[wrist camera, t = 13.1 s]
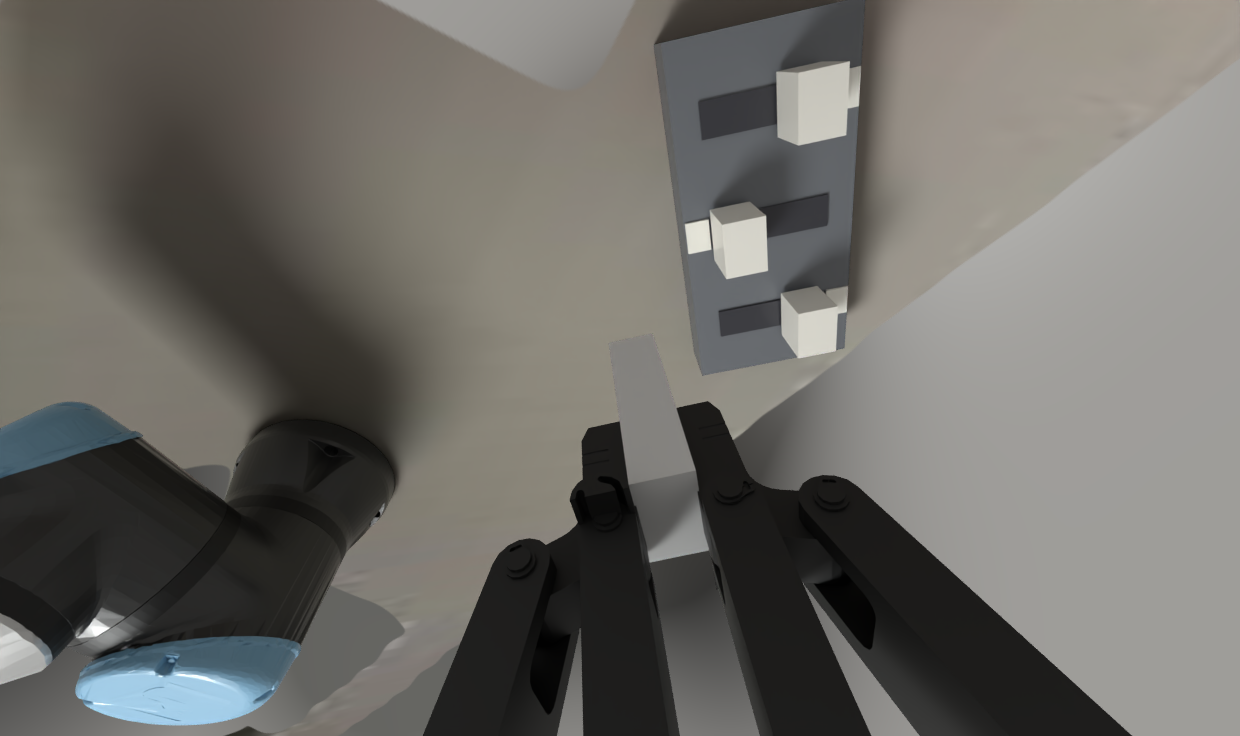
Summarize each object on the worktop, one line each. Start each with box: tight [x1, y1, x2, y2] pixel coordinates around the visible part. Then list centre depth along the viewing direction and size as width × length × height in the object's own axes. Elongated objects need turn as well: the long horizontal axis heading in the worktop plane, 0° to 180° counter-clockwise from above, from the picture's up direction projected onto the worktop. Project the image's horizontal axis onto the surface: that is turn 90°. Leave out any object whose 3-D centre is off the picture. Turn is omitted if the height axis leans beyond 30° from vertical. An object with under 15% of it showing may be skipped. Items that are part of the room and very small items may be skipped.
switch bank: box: [654, 0, 865, 376], centre depth 40 cm, size 13×26×4 cm, turn 11°
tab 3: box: [781, 286, 838, 358], centre depth 40 cm, size 3×4×4 cm
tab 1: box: [710, 201, 768, 279], centre depth 36 cm, size 3×4×4 cm
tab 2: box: [776, 61, 850, 146], centre depth 32 cm, size 3×4×4 cm
